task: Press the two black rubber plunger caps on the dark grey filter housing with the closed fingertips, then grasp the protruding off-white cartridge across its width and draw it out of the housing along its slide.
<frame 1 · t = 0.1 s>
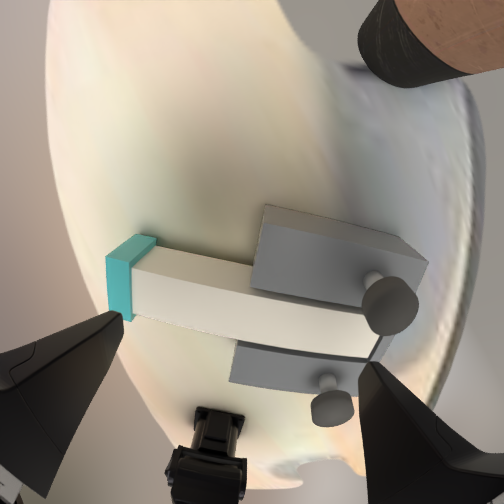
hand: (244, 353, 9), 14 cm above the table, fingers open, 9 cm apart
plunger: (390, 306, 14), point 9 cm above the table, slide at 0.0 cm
cartridge: (246, 302, 21), point 3 cm above the table, slide at 0.0 cm
housing: (314, 295, 24), on the table
travel mug: (394, 51, 16), on the table
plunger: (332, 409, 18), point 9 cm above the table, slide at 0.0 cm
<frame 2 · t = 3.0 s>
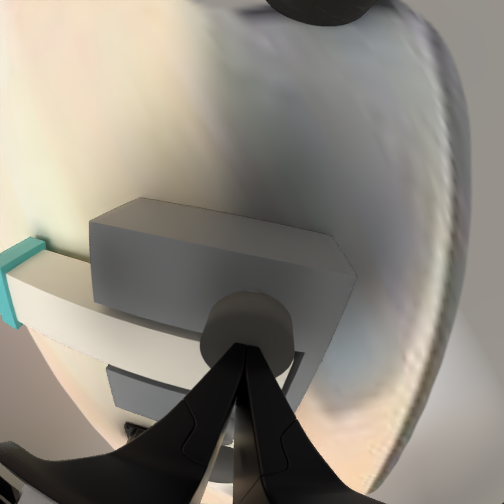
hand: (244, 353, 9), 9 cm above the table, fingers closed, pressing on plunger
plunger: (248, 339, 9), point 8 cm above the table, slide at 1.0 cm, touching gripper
cartridge: (117, 318, 16), point 3 cm above the table, slide at 0.0 cm
housing: (216, 313, 19), on the table
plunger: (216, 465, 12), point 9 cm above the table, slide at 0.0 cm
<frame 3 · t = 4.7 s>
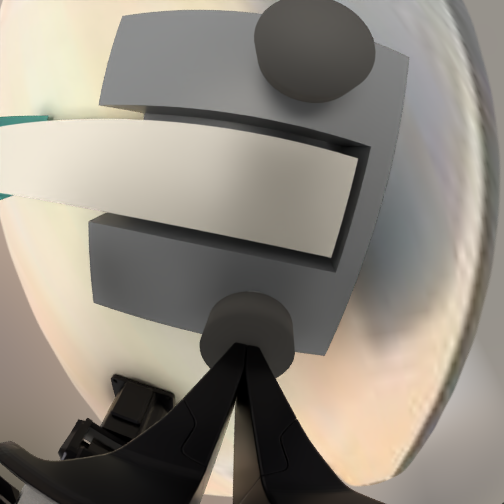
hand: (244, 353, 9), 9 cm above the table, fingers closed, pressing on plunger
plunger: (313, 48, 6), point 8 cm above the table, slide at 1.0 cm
cartridge: (117, 160, 12), point 3 cm above the table, slide at 0.0 cm
housing: (240, 170, 15), on the table
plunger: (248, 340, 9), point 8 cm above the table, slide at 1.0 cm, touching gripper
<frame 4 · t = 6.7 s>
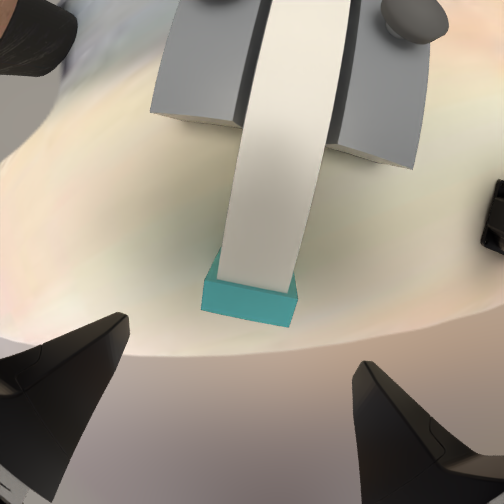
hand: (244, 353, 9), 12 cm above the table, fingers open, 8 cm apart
cartridge: (284, 131, 14), point 3 cm above the table, slide at 0.0 cm
housing: (297, 58, 15), on the table
travel mug: (52, 44, 14), on the table
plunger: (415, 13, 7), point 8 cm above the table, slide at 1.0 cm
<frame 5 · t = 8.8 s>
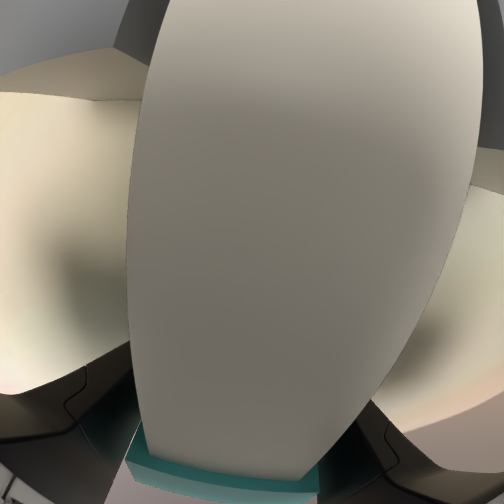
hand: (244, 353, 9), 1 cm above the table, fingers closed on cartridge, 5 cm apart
cartridge: (311, 95, 4), point 3 cm above the table, slide at 0.0 cm, touching gripper
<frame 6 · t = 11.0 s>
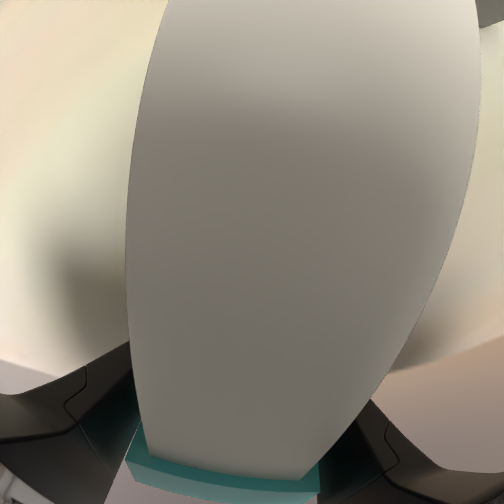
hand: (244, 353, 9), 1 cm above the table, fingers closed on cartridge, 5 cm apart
cartridge: (310, 94, 4), point 3 cm above the table, slide at 7.3 cm, touching gripper
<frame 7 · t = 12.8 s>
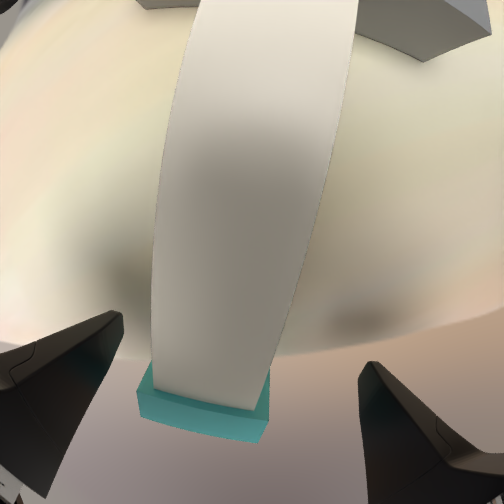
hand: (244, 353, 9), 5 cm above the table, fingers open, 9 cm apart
cartridge: (248, 162, 8), point 3 cm above the table, slide at 7.5 cm
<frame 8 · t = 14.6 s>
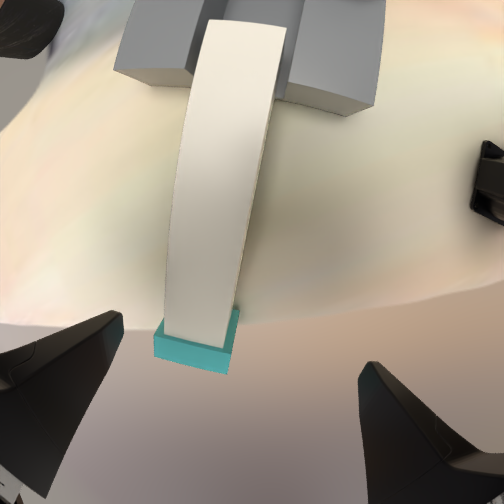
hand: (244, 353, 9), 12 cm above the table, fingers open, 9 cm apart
cartridge: (216, 205, 16), point 3 cm above the table, slide at 7.5 cm
housing: (261, 22, 14), on the table
travel mug: (41, 29, 14), on the table
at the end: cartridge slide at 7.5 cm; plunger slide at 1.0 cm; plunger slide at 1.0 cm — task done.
